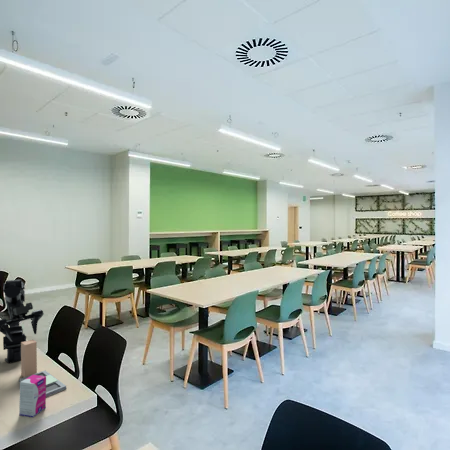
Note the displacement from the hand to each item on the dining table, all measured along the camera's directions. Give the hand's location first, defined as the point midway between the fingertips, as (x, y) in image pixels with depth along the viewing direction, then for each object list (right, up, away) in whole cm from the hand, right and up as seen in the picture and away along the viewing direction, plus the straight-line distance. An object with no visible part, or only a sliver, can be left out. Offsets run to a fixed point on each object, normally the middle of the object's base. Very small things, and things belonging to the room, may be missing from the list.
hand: (24, 337), depth 140 cm
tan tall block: (+4, -15, -4) cm, 16 cm away
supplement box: (+22, -15, -30) cm, 41 cm away
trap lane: (+15, -15, -13) cm, 25 cm away
